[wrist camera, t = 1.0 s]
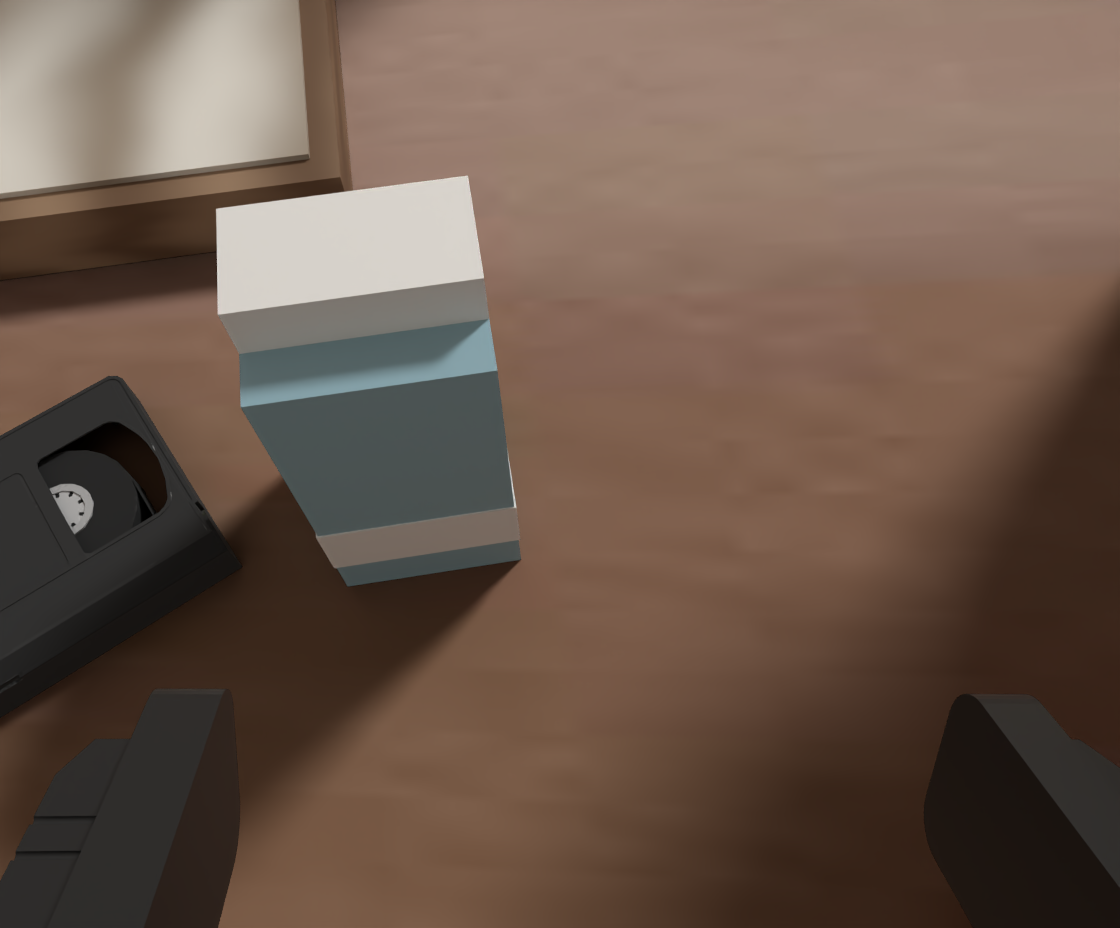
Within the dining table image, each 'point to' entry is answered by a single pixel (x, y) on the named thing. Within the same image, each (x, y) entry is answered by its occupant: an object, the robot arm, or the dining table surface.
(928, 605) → the dining table surface
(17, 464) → the vhs tape
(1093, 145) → the dining table surface
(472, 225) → the carton
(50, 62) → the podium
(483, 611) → the dining table surface
